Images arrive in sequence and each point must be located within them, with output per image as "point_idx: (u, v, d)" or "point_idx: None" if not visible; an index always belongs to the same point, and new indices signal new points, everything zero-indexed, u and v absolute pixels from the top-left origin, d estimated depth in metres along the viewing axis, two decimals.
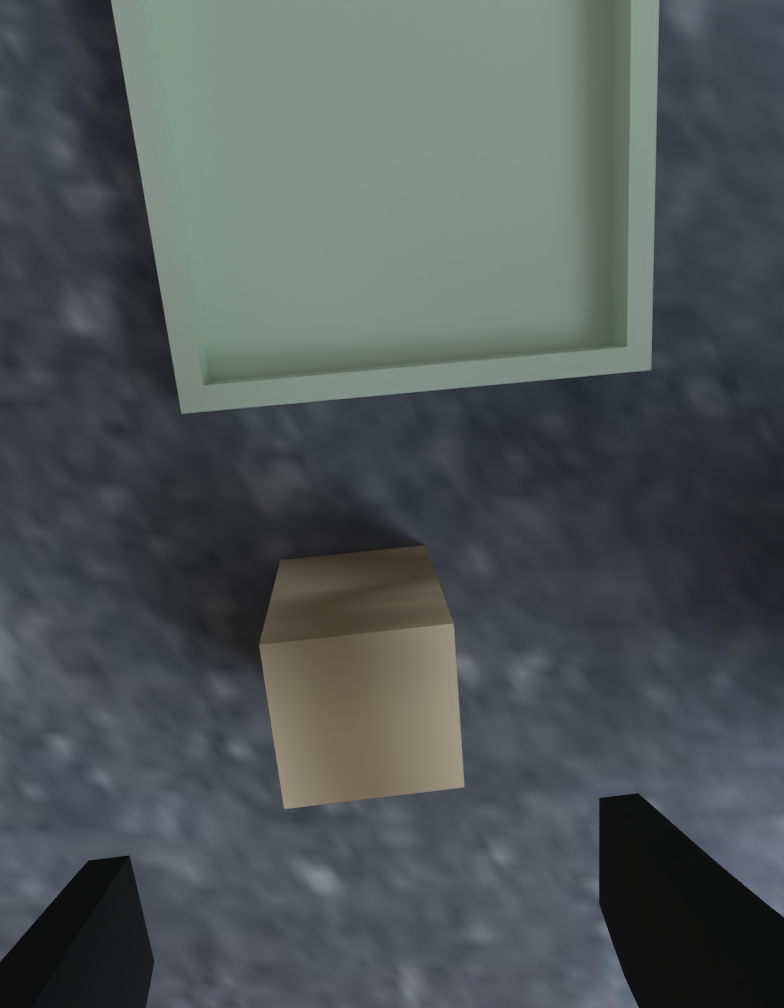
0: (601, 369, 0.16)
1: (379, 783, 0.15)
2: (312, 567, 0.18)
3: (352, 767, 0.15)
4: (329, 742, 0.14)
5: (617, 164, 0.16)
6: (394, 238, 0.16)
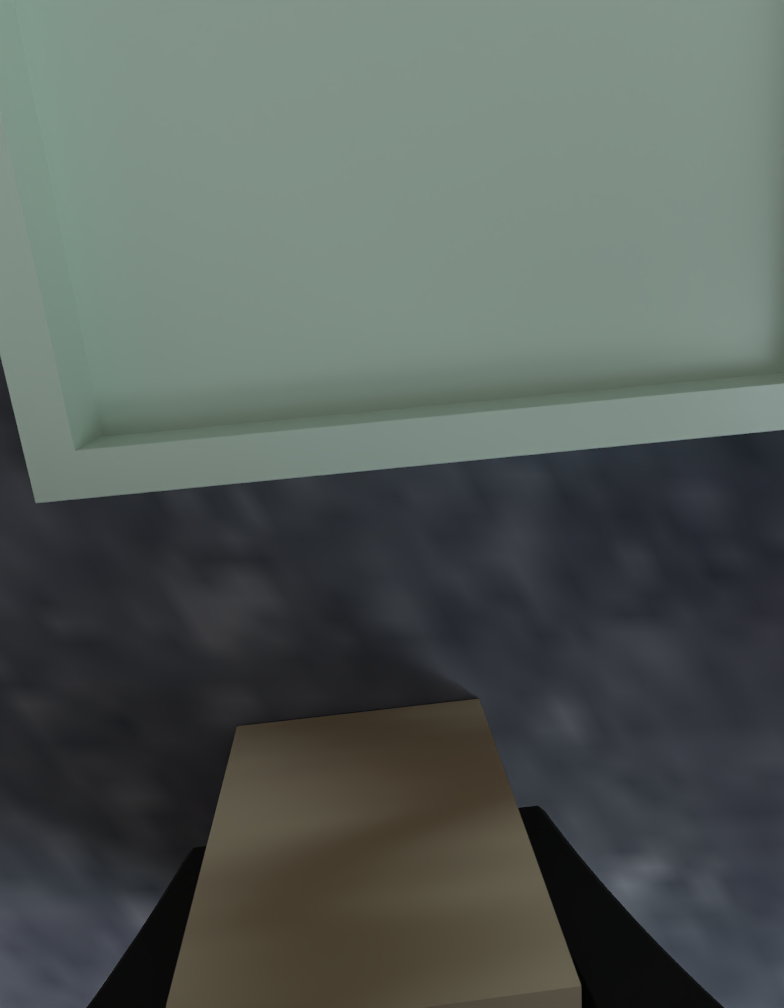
0: None
1: None
2: (289, 753, 0.10)
3: None
4: None
5: None
6: (438, 172, 0.09)
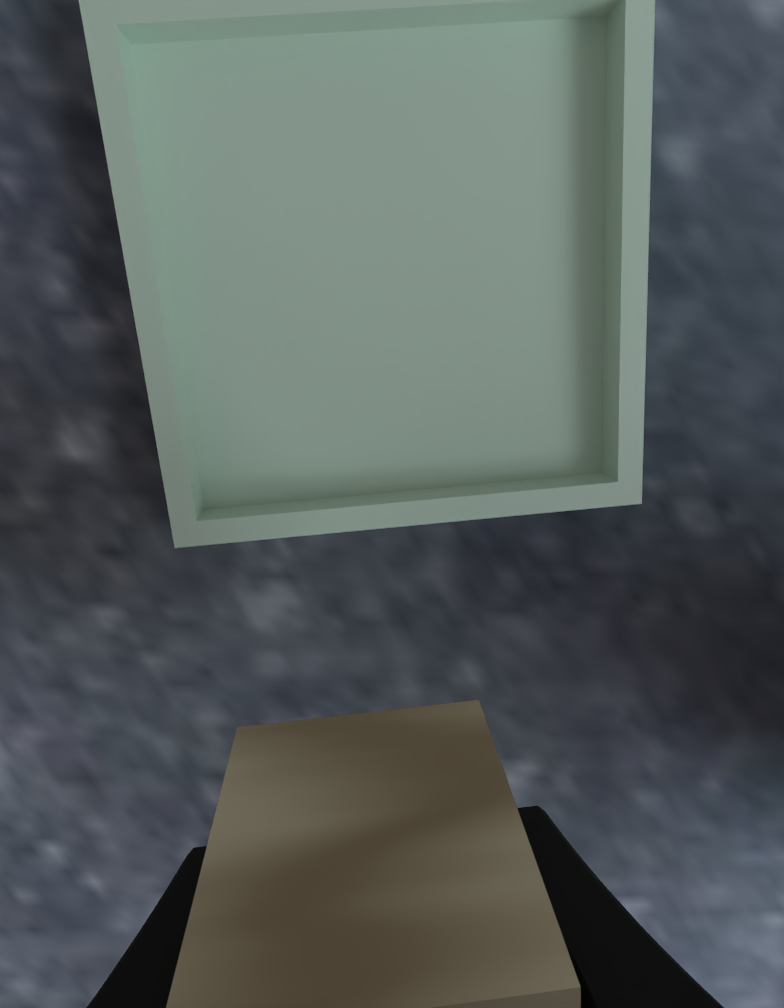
0: (592, 503, 0.16)
1: None
2: (288, 754, 0.10)
3: None
4: None
5: (609, 305, 0.16)
6: (387, 373, 0.16)
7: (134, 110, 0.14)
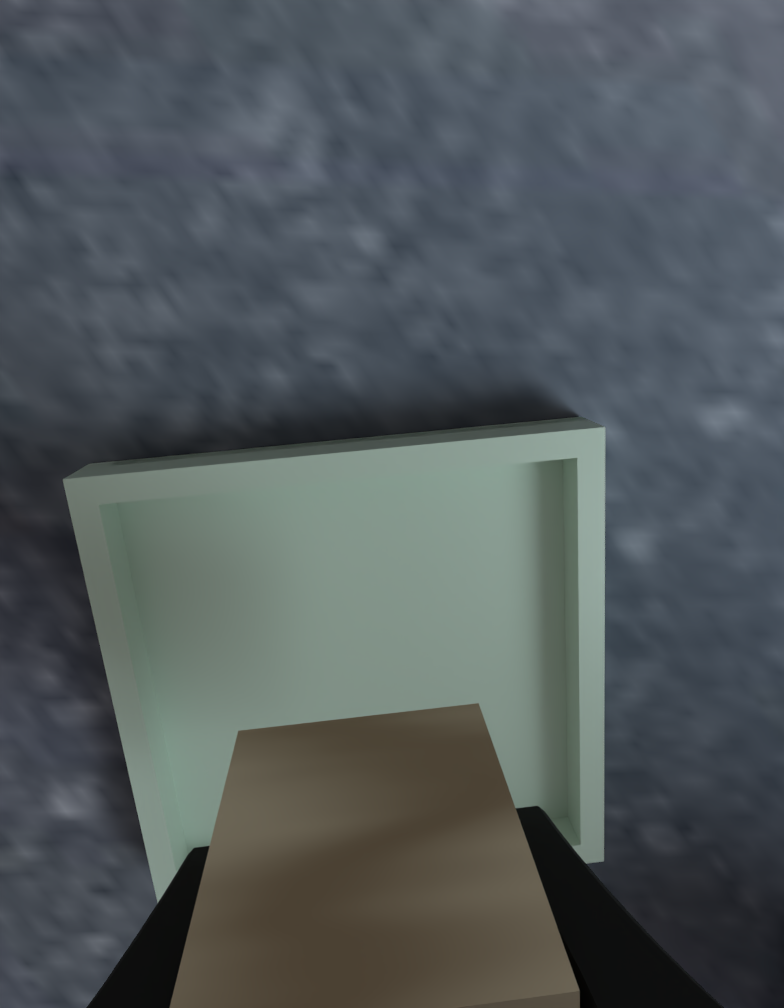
0: None
1: None
2: (289, 757, 0.10)
3: None
4: None
5: (570, 688, 0.17)
6: None
7: (118, 560, 0.15)
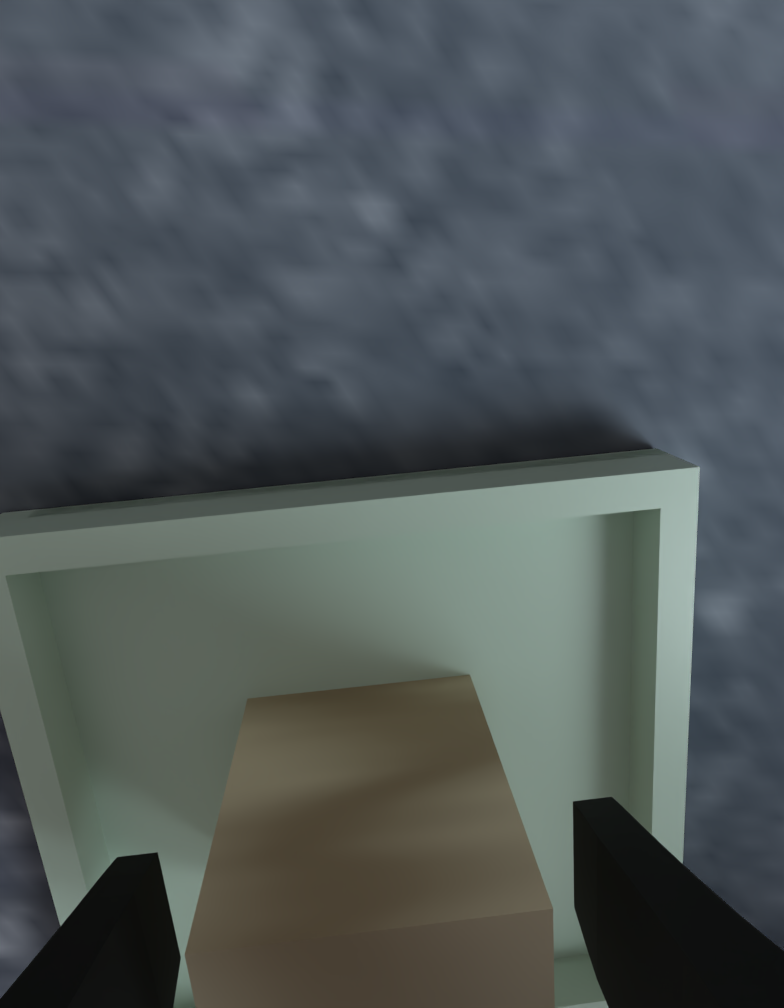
0: None
1: None
2: (295, 721, 0.11)
3: None
4: None
5: (636, 798, 0.13)
6: None
7: (38, 645, 0.11)
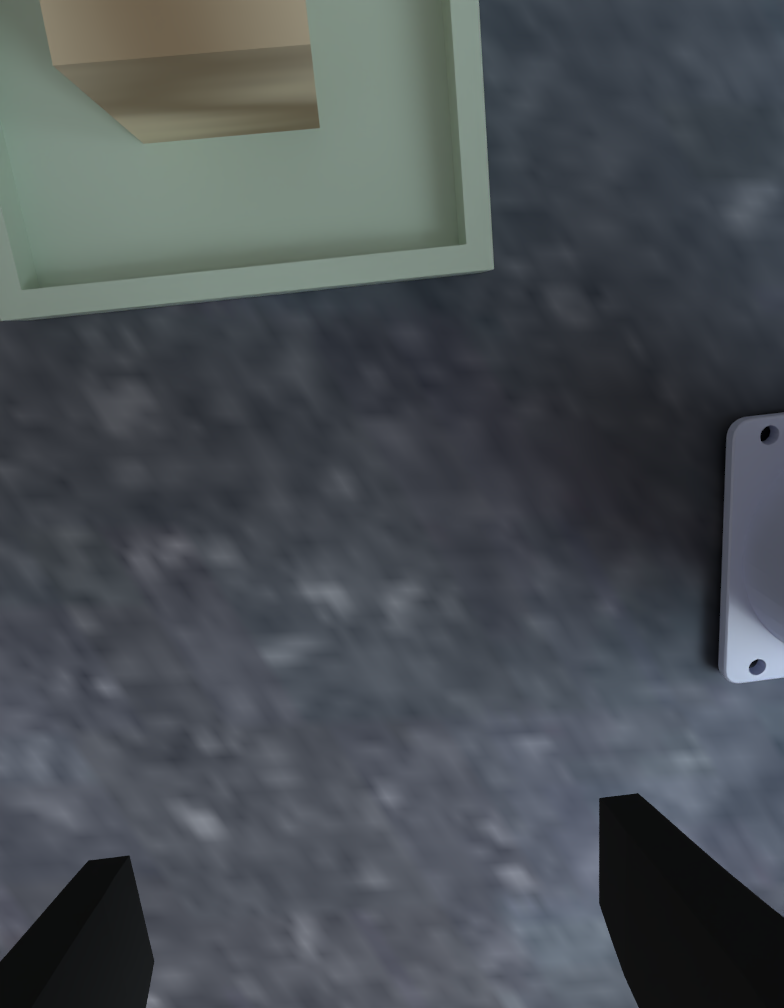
0: (441, 269, 0.16)
1: (187, 27, 0.10)
2: None
3: None
4: None
5: (447, 50, 0.15)
6: None
7: None
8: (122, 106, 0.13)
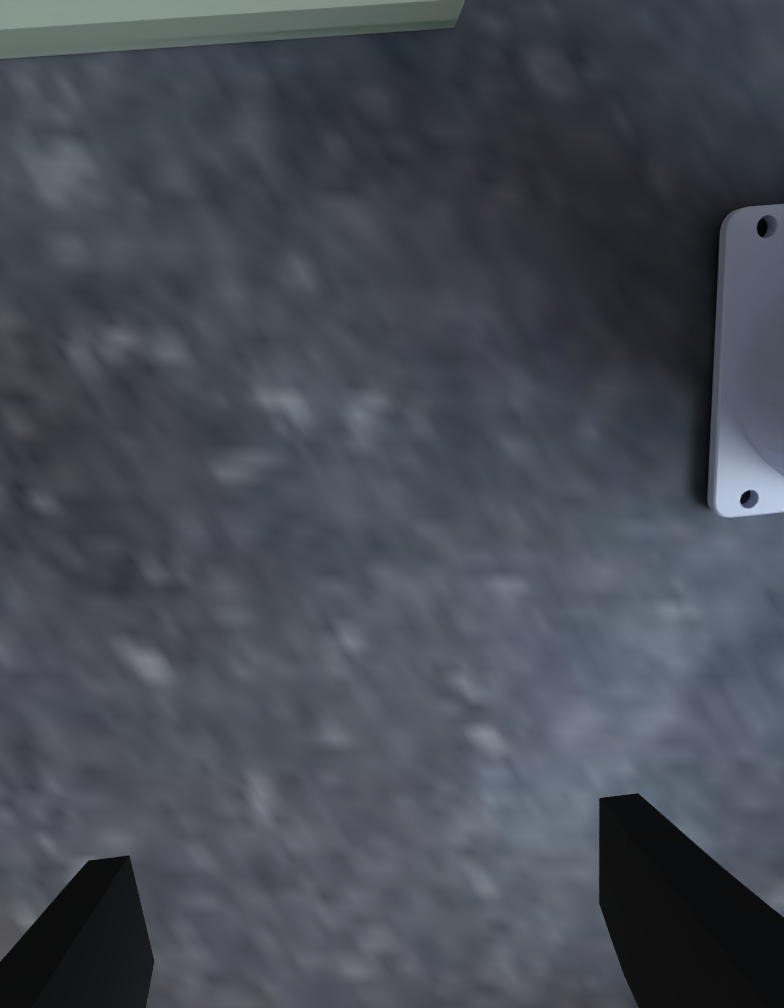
0: None
1: None
2: None
3: None
4: None
5: None
6: None
7: None
8: None
